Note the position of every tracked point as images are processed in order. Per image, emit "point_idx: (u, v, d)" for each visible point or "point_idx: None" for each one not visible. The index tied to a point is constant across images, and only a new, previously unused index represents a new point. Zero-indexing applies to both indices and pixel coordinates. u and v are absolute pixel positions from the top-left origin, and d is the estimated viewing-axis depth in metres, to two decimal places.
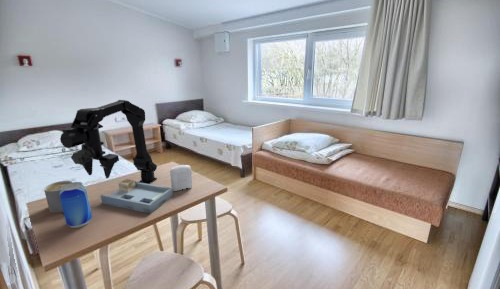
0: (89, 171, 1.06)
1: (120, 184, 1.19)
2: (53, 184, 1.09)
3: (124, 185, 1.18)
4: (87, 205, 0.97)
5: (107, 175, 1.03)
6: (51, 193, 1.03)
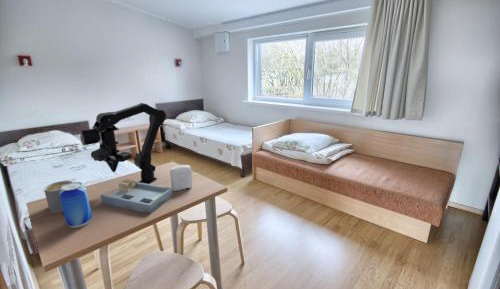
0: None
1: (120, 184, 1.19)
2: (53, 184, 1.09)
3: (124, 185, 1.18)
4: (87, 205, 0.97)
5: (114, 169, 1.20)
6: (51, 193, 1.03)
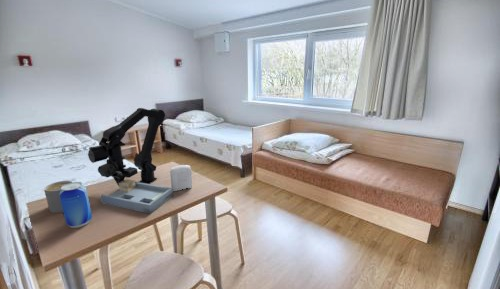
0: None
1: (120, 184, 1.19)
2: (53, 184, 1.09)
3: (124, 185, 1.18)
4: (87, 205, 0.97)
5: None
6: (51, 193, 1.03)
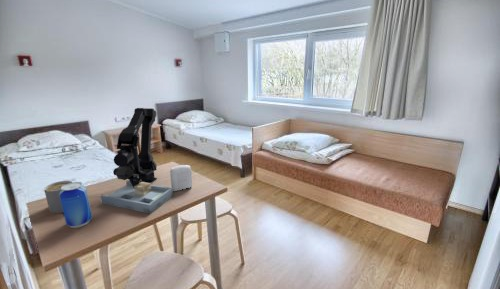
0: None
1: (136, 187, 1.16)
2: (53, 184, 1.09)
3: (140, 188, 1.15)
4: (87, 205, 0.97)
5: None
6: (51, 193, 1.03)
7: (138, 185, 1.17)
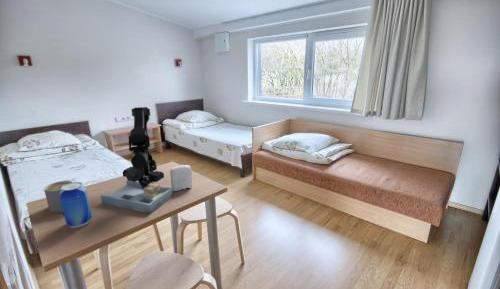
0: None
1: (145, 189, 1.14)
2: (53, 184, 1.09)
3: (149, 190, 1.14)
4: (87, 205, 0.97)
5: None
6: (51, 193, 1.03)
7: (147, 187, 1.15)
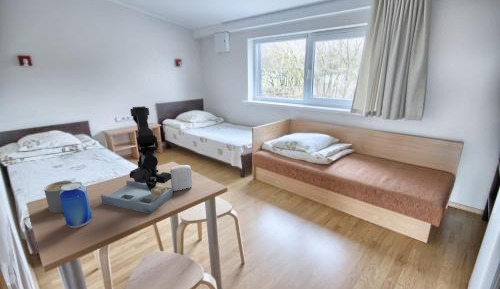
0: (151, 188, 1.16)
1: (152, 190, 1.13)
2: (53, 184, 1.09)
3: (157, 191, 1.12)
4: (87, 205, 0.97)
5: None
6: (51, 193, 1.03)
7: (154, 188, 1.14)
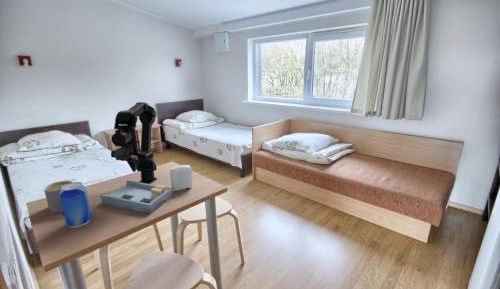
0: None
1: (152, 190, 1.13)
2: (53, 184, 1.09)
3: (157, 191, 1.12)
4: (87, 205, 0.97)
5: (134, 169, 1.16)
6: (51, 193, 1.03)
7: (154, 188, 1.14)
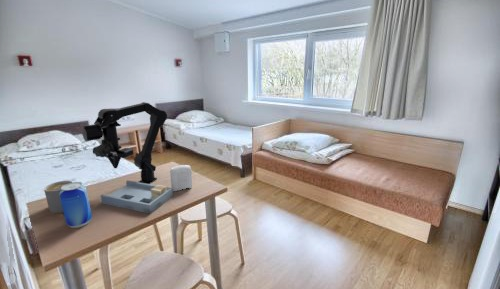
0: None
1: (152, 190, 1.13)
2: (53, 184, 1.09)
3: (157, 191, 1.12)
4: (87, 205, 0.97)
5: (115, 165, 1.20)
6: (51, 193, 1.03)
7: (154, 188, 1.14)
